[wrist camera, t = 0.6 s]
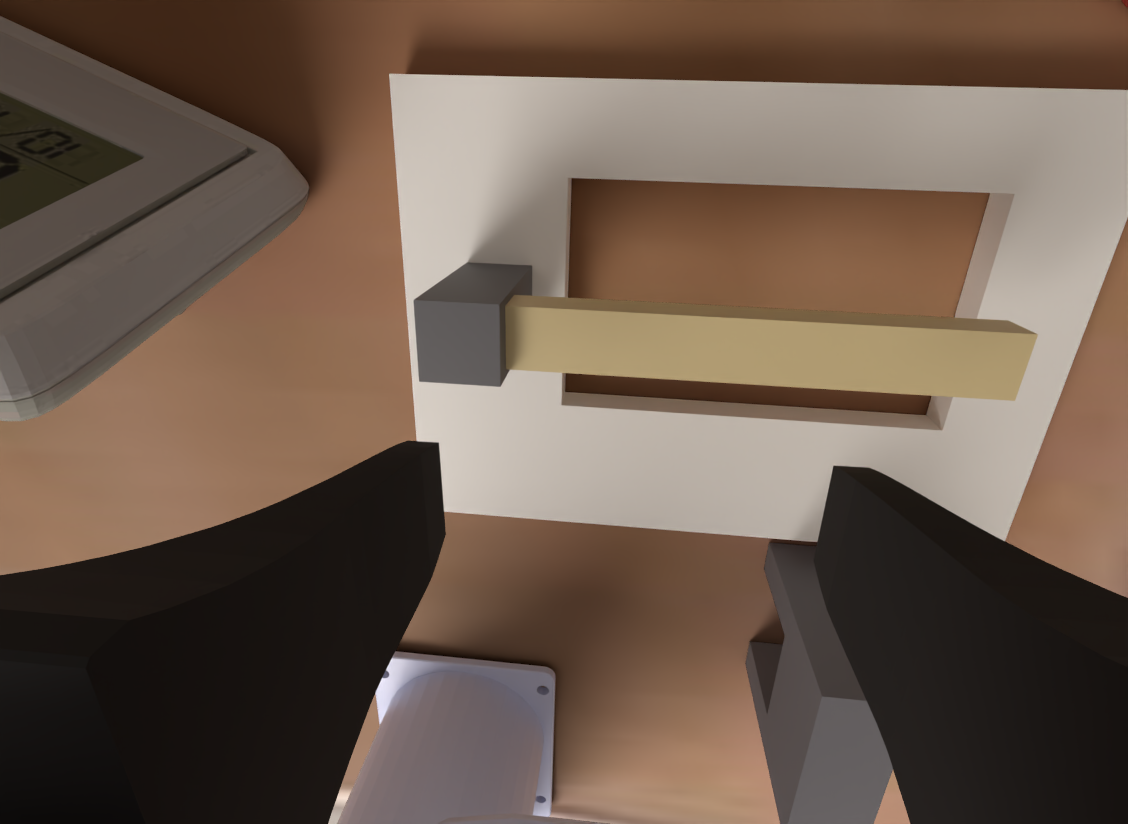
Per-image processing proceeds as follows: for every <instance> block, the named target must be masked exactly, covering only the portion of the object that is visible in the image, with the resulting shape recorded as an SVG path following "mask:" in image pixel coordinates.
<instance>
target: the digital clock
mask: <svg viewBox="0 0 1128 824" xmlns="http://www.w3.org/2000/svg"><path fill="white" fill-rule="evenodd" d="M308 190H309V185H308V182H307V181H306V180H305V178H304V177H303V176H302V175H301V173H300V172H299V171H298V170H297V168H296V167H295V166H294V165H293V164H292V163H291V161H290V160H289V159H288V158H287V157H286V156H285V154H284V153H283V152H282V151H281V150H280V149H279V148H278V147H276V146H275V145H273V144H272V143H270V142H268V141H266V140H264V139H262V138H260V137H258V136H256V135H254V134H252V133H250V132H248V131H246V130H244V129H242V128H240V127H238V126H236V125H234V124H232V123H229V122H227V121H225V120H223V119H221V118H219V117H217V116H215V115H212V114H210V113H208V112H206V111H204V110H202V109H200V108H198V107H195V106H193V105H191V104H189V103H187V102H185V101H183V100H180V99H178V98H176V97H174V96H172V95H170V94H167V93H165V92H163V91H161V90H159V89H157V88H155V87H152V86H150V85H148V84H146V83H144V82H142V81H139V80H137V79H135V78H133V77H131V76H129V75H127V74H124V73H122V72H120V71H118V70H116V69H114V68H111V67H109V66H107V65H105V64H103V63H101V62H99V61H96V60H94V59H92V58H90V57H88V56H86V55H83V54H81V53H79V52H77V51H75V50H73V49H71V48H68V47H66V46H64V45H62V44H60V43H58V42H55V41H53V40H51V39H49V38H47V37H45V36H42V35H40V34H38V33H36V32H34V31H32V30H30V29H27V28H25V27H23V26H21V25H19V24H17V23H14V22H12V21H10V20H8V19H6V18H4V17H2V16H0V420H2V421H24V420H28V419H32V418H36V417H39V416H41V415H43V414H45V413H47V412H49V411H51V410H53V409H55V408H56V407H58V406H59V405H61V404H62V403H64V402H65V401H67V400H69V399H70V398H71V397H73V396H74V395H75V394H77V393H78V392H79V391H81V390H82V389H83V388H85V387H86V386H87V385H89V384H90V383H91V382H93V381H94V380H95V379H97V378H98V377H100V376H101V375H102V374H103V373H105V372H106V371H107V370H109V369H110V368H111V367H112V366H114V365H115V364H116V363H117V362H119V361H120V360H121V359H122V358H124V357H125V356H126V355H127V354H129V353H130V352H131V351H133V350H134V349H135V348H136V347H138V346H139V345H140V344H141V343H143V342H144V341H145V340H146V339H148V338H149V337H150V336H152V335H153V334H154V333H155V332H157V331H158V330H159V329H160V328H162V327H163V326H164V325H165V324H167V323H168V322H169V321H171V320H172V319H173V318H174V317H176V316H177V315H180V314H182V313H183V312H184V311H185V310H186V308H187V307H188V306H189V305H191V304H192V303H193V302H195V301H196V300H197V299H198V298H200V297H201V296H202V295H203V294H205V293H206V292H207V291H208V290H210V289H211V288H212V287H214V286H215V285H216V284H217V283H219V282H220V281H221V280H222V279H224V278H225V277H226V276H227V275H229V274H230V273H231V272H233V271H234V270H235V269H236V268H238V267H239V266H240V265H241V264H243V263H244V262H245V261H246V260H248V259H249V258H250V257H252V256H253V255H254V254H255V253H257V252H258V251H259V250H260V249H262V248H263V247H264V246H265V245H267V244H268V243H269V242H270V241H272V240H273V239H274V238H276V237H277V236H278V235H279V234H280V233H281V232H283V231H284V230H285V229H286V228H287V227H288V226H289V225H290V224H291V223H293V222H294V221H295V220H296V219H297V218H298V216H299V215H300V213H301V212H302V210H303V208H304V206H305V204H306V202H307V198H308Z"/></svg>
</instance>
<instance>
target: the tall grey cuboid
mask: <svg viewBox="0 0 1128 824" xmlns="http://www.w3.org/2000/svg"><path fill="white" fill-rule="evenodd" d="M815 551H816V546H805V545H793V544H781V543H769V546H768V551H767V556H766V561H765V566H764V570H765V574H766V577H767V580H768V583H769V586H770V590H771V593H772V596H773V599H774V603H775V606H776V609H777V612H778V615H779V619H780V622H781V625H782V628H783V631H784V635H785V637H784V642H783V645H782V644H772V643H761V642H751V641H750V643H749V648H748V653H747V659H746V668H747V673H748V678H749V682H750V687H751V691H752V696H753V701H754V705H755V710H756V714H757V719H758V723H759V728H760V733H761V737H762V742H763V746H764V751H765V756H766V760H767V765H768V769H769V774H770V779H771V783H772V788H773V792H774V797H775V801H776V806H777V811H778V815H779V820H780V824H874V821H875V818H876V815H877V812H878V810H879V807H880V804H881V801H882V798H883V795H884V793H885V790H886V787H887V784H888V781H889V779H890V776H891V773H892V770H893V767H892V764H891V761H890V758H889V754H888V751H887V749H886V746H885V744H884V741H883V739H882V736H881V733H880V731H879V728H878V726H877V723H876V721H875V719H874V716H873V714H872V712H871V710H870V707H869V705H868V703H867V701H866V698H865V696H864V694H863V692H862V689H861V687H860V685H859V683H858V680H857V678H856V676H855V674H854V671H853V669H852V667H851V665H850V662H849V660H848V658H847V656H846V653H845V651H844V649H843V647H842V644H841V642H840V640H839V637H838V635H837V633H836V630H835V628H834V626H833V623H832V621H831V619H830V616H829V614H828V611H827V609H826V606H825V602H824V599H823V595H822V592H821V588H820V585H819V581H818V577H817V573H816V569H815V565H814V561H813V560H814V556H815Z"/></svg>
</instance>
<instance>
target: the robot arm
mask: <svg viewBox="0 0 1128 824" xmlns="http://www.w3.org/2000/svg"><path fill="white" fill-rule="evenodd" d="M445 535H446V532H445V519H444V505H443V491H442V477H441V463H440V450H439V443H438V442H421V441H406V442H403V443H400V444H397V445H395V446H393V447H391V448H389V449H387V450H385V451H382V452H380V453H379V454H377V455H375V456H373V457H371V458H369V459H367V460H365V461H363V462H361V463H359V464H357V465H355V466H353V467H351V468H349V469H347V470H345V471H343V472H341V473H340V474H338V475H336V476H334V477H332V478H330V479H328V480H326V481H323V482H321V483H319V484H317V485H315V486H313V487H310V488H308V489H306V490H304V491H302V492H300V493H298V494H295V495H293V496H291V497H289V498H287V499H285V500H283V501H280V502H278V503H275V504H273V505H271V506H268V507H266V508H263V509H261V510H258V511H256V512H253V513H251V514H248V515H245V516H242V517H240V518H237V519H234V520H231V521H229V522H226V523H223V524H220V525H217V526H214V527H211V528H208V529H204V530H201V531H198V532H194V533H191V534H187V535H184V536H181V537H177V538H174V539H170V540H167V541H163V542H160V543H157V544H153V545H150V546H146V547H142V548H138V549H134V550H130V551H125V552H121V553H117V554H113V555H109V556H104V557H99V558H94V559H90V560H85V561H80V562H75V563H71V564H65V565H60V566H55V567H50V568H44V569H38V570H32V571H25V572H19V573H13V574H6V575H0V824H328V822H329V819H330V816H331V813H332V810H333V807H334V804H335V801H336V798H337V796H338V793H339V790H340V787H341V784H342V781H343V778H344V775H345V773H346V770H347V767H348V764H349V761H350V758H351V755H352V753H353V750H354V747H355V745H356V742H357V739H358V737H359V734H360V731H361V728H362V726H363V723H364V720H365V718H366V715H367V712H368V710H369V707H370V704H371V702H372V699H373V697H374V695H375V693H376V700H377V708H378V716H379V723H380V727H379V729H378V731H377V733H376V736H375V738H374V740H373V743H372V745H371V747H370V750H369V752H368V754H367V756H366V759H365V761H364V763H363V766H362V768H361V770H360V772H359V775H358V777H357V779H356V782H355V784H354V786H353V788H352V791H351V793H350V795H349V798H348V800H347V802H346V805H345V807H344V809H343V811H342V814H341V816H340V818H339V821H338V823H337V824H608V823H599V822H590V821H581V820H572V819H563V818H554V817H549V816H550V814H551V808H552V777H553V744H554V712H555V680H556V676H555V673H554V671H553V670H552V669H550V668H548V667H544V666H535V665H525V664H515V663H505V662H495V661H485V660H476V659H466V658H456V657H446V656H436V655H427V654H417V653H407V652H397V651H396V649H397V647H398V645H399V643H400V641H401V639H402V637H403V635H404V633H405V631H406V629H407V627H408V625H409V623H410V621H411V619H412V617H413V615H414V613H415V611H416V609H417V607H418V605H419V603H420V601H421V599H422V597H423V595H424V593H425V591H426V589H427V586H428V584H429V582H430V580H431V578H432V575H433V572H434V569H435V566H436V563H437V560H438V557H439V554H440V551H441V548H442V545H443V541H444V538H445ZM813 561H814V565H815V569H816V573H817V577H818V581H819V585H820V588H821V592H822V595H823V599H824V602H825V606H826V609H827V611H828V614H829V616H830V619H831V621H832V623H833V626H834V628H835V630H836V633H837V635H838V637H839V640H840V642H841V644H842V647H843V649H844V651H845V653H846V656H847V658H848V660H849V662H850V665H851V667H852V669H853V671H854V674H855V676H856V678H857V680H858V683H859V685H860V687H861V689H862V692H863V694H864V696H865V698H866V701H867V703H868V705H869V707H870V710H871V712H872V714H873V716H874V719H875V721H876V723H877V726H878V728H879V731H880V733H881V736H882V739H883V741H884V744H885V746H886V749H887V751H888V754H889V758H890V761H891V764H892V767H893V770H894V773H895V776H896V779H897V782H898V786H899V789H900V792H901V795H902V798H903V801H904V804H905V807H906V810H907V814H908V817H909V820H910V824H1128V598H1126V597H1124V596H1121V595H1119V594H1116V593H1114V592H1112V591H1109V590H1107V589H1105V588H1102V587H1100V586H1098V585H1096V584H1093V583H1091V582H1089V581H1087V580H1084V579H1082V578H1080V577H1077V576H1075V575H1073V574H1071V573H1068V572H1066V571H1064V570H1062V569H1059V568H1057V567H1055V566H1053V565H1051V564H1049V563H1047V562H1045V561H1043V560H1040V559H1038V558H1036V557H1034V556H1032V555H1030V554H1028V553H1027V552H1025V551H1023V550H1021V549H1019V548H1017V547H1015V546H1013V545H1011V544H1009V543H1007V542H1005V541H1003V540H1001V539H999V538H997V537H995V536H994V535H992V534H990V533H988V532H986V531H984V530H983V529H981V528H979V527H977V526H975V525H973V524H972V523H970V522H968V521H966V520H965V519H963V518H961V517H959V516H958V515H956V514H954V513H952V512H951V511H949V510H947V509H945V508H944V507H942V506H940V505H938V504H937V503H935V502H933V501H931V500H930V499H928V498H926V497H925V496H923V495H921V494H919V493H918V492H916V491H914V490H912V489H911V488H909V487H907V486H905V485H904V484H902V483H900V482H898V481H896V480H894V479H893V478H891V477H889V476H887V475H885V474H883V473H881V472H879V471H876V470H874V469H872V468H868V467H851V466H833V470H832V475H831V480H830V484H829V489H828V494H827V499H826V503H825V508H824V513H823V518H822V522H821V527H820V532H819V537H818V541H817V546H816V551H815V556H814V560H813ZM386 670H387V671H386ZM541 686H545V688H544V687H541Z"/></svg>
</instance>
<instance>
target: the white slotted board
mask: <svg viewBox="0 0 1128 824" xmlns="http://www.w3.org/2000/svg"><path fill="white" fill-rule="evenodd" d="M389 79H390V93H391V106H392V119H393V132H394V146H395V159H396V172H397V186H398V199H399V212H400V225H401V239H402V252H403V265H404V279H405V292H406V305H407V318H408V332H409V345H410V358H411V372H412V385H413V398H414V412H415V425H416V438H417V441H421V442H438V443H439V450H440V463H441V477H442V491H443V505H444V512H455V513H468V514H480V515H492V516H504V517H516V518H529V519H541V520H553V521H565V522H577V523H590V524H602V525H614V526H626V527H638V528H650V529H663V530H675V531H687V532H699V533H711V534H724V535H736V536H748V537H760V538H772V539H785V540H797V541H809V542H817V541H818V537H819V532H820V527H821V522H822V518H823V513H824V508H825V503H826V499H827V494H828V489H829V484H830V480H831V475H832V470H833V466H851V467H868V468H872V469H874V470H876V471H879V472H881V473H883V474H885V475H887V476H889V477H891V478H893V479H894V480H896V481H898V482H900V483H902V484H904V485H905V486H907V487H909V488H911V489H912V490H914V491H916V492H918V493H919V494H921V495H923V496H925V497H926V498H928V499H930V500H931V501H933V502H935V503H937V504H938V505H940V506H942V507H944V508H945V509H947V510H949V511H951V512H952V513H954V514H956V515H958V516H959V517H961V518H963V519H965V520H966V521H968V522H970V523H972V524H973V525H975V526H977V527H979V528H981V529H983V530H984V531H986V532H988V533H990V534H992V535H994V536H995V537H997V538H999V539H1001V540H1003V541H1005V539H1006V537H1007V534H1008V532H1009V529H1010V526H1011V524H1012V521H1013V518H1014V516H1015V513H1016V511H1017V508H1018V505H1019V503H1020V500H1021V497H1022V495H1023V492H1024V489H1025V487H1026V484H1027V482H1028V479H1029V476H1030V474H1031V471H1032V468H1033V466H1034V463H1035V460H1036V458H1037V455H1038V453H1039V450H1040V447H1041V445H1042V442H1043V439H1044V437H1045V434H1046V431H1047V429H1048V426H1049V424H1050V421H1051V418H1052V416H1053V413H1054V410H1055V408H1056V405H1057V402H1058V400H1059V397H1060V395H1061V392H1062V389H1063V387H1064V384H1065V381H1066V379H1067V376H1068V373H1069V371H1070V368H1071V366H1072V363H1073V360H1074V358H1075V355H1076V352H1077V350H1078V347H1079V345H1080V342H1081V339H1082V337H1083V334H1084V331H1085V329H1086V326H1087V323H1088V321H1089V318H1090V316H1091V313H1092V310H1093V308H1094V305H1095V302H1096V300H1097V297H1098V294H1099V292H1100V289H1101V287H1102V284H1103V281H1104V279H1105V276H1106V273H1107V271H1108V268H1109V265H1110V263H1111V260H1112V258H1113V255H1114V252H1115V250H1116V247H1117V244H1118V242H1119V239H1120V236H1121V234H1122V231H1123V229H1124V226H1125V223H1126V221H1127V218H1128V90H1102V89H1056V88H1011V87H966V86H920V85H875V84H830V83H785V82H739V81H694V80H649V79H604V78H558V77H513V76H468V75H422V74H389ZM572 178H586V179H615V180H643V181H671V182H699V183H727V184H755V185H783V186H811V187H839V188H867V189H895V190H923V191H952V192H980V193H990V196H989V199H988V203H987V206H986V209H985V213H984V216H983V220H982V223H981V227H980V230H979V234H978V237H977V241H976V244H975V247H974V251H973V254H972V258H971V261H970V265H969V268H968V272H967V275H966V279H965V282H964V286H963V289H962V292H961V296H960V299H959V303H958V306H957V310H956V313H955V317H954V318H953V317H933V316H914V315H895V314H875V313H856V312H837V311H817V310H798V309H779V308H759V307H740V306H721V305H701V304H682V303H663V302H644V301H624V300H605V299H586V298H568V282H569V250H570V218H571V186H572ZM566 373H573V374H590V375H606V376H622V377H638V378H654V379H670V380H686V381H703V382H719V383H735V384H751V385H767V386H783V387H799V388H815V389H832V390H848V391H864V392H880V393H896V394H912V395H928V396H931V400H930V403H929V407H928V410H927V413H926V415H914V414H899V413H883V412H868V411H852V410H837V409H821V408H806V407H790V406H775V405H759V404H744V403H728V402H713V401H697V400H682V399H666V398H651V397H635V396H620V395H605V394H589V393H574V392H565V377H566Z"/></svg>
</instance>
